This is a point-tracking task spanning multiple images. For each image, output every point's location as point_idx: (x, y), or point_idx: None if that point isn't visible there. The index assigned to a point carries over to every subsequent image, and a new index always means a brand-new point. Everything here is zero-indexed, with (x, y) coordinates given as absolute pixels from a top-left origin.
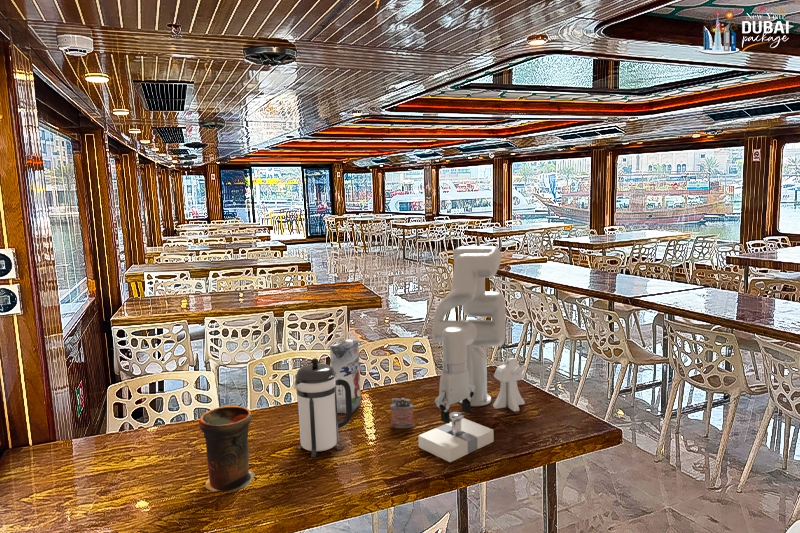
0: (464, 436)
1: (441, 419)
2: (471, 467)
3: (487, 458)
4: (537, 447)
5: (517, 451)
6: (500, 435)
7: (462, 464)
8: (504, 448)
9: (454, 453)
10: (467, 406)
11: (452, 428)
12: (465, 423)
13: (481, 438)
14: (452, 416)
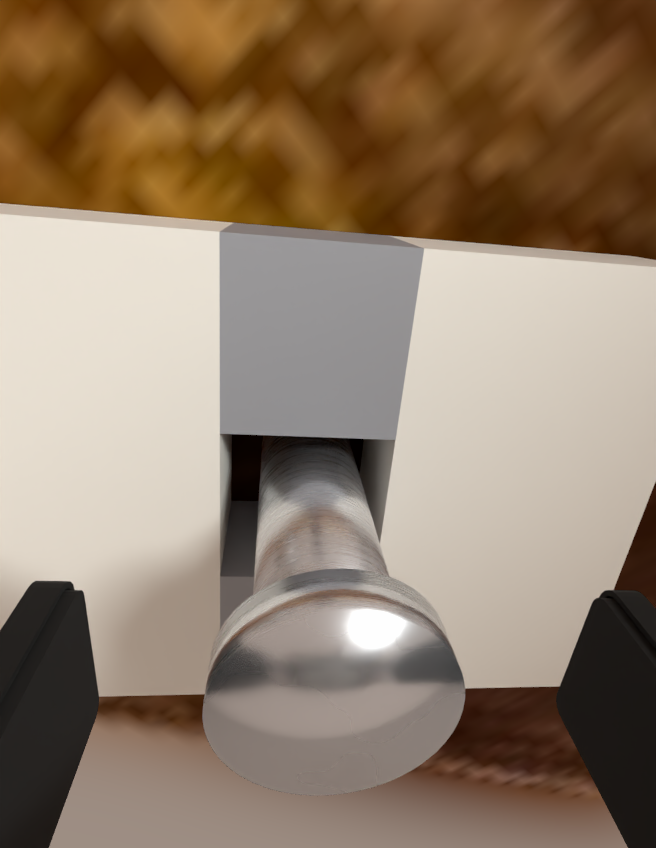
0: None
1: (26, 600)
2: (101, 719)
3: None
4: (588, 780)
5: (479, 751)
6: (648, 576)
7: None
8: (471, 694)
9: None
10: (636, 822)
11: (260, 531)
12: (579, 431)
13: None
14: (215, 724)
